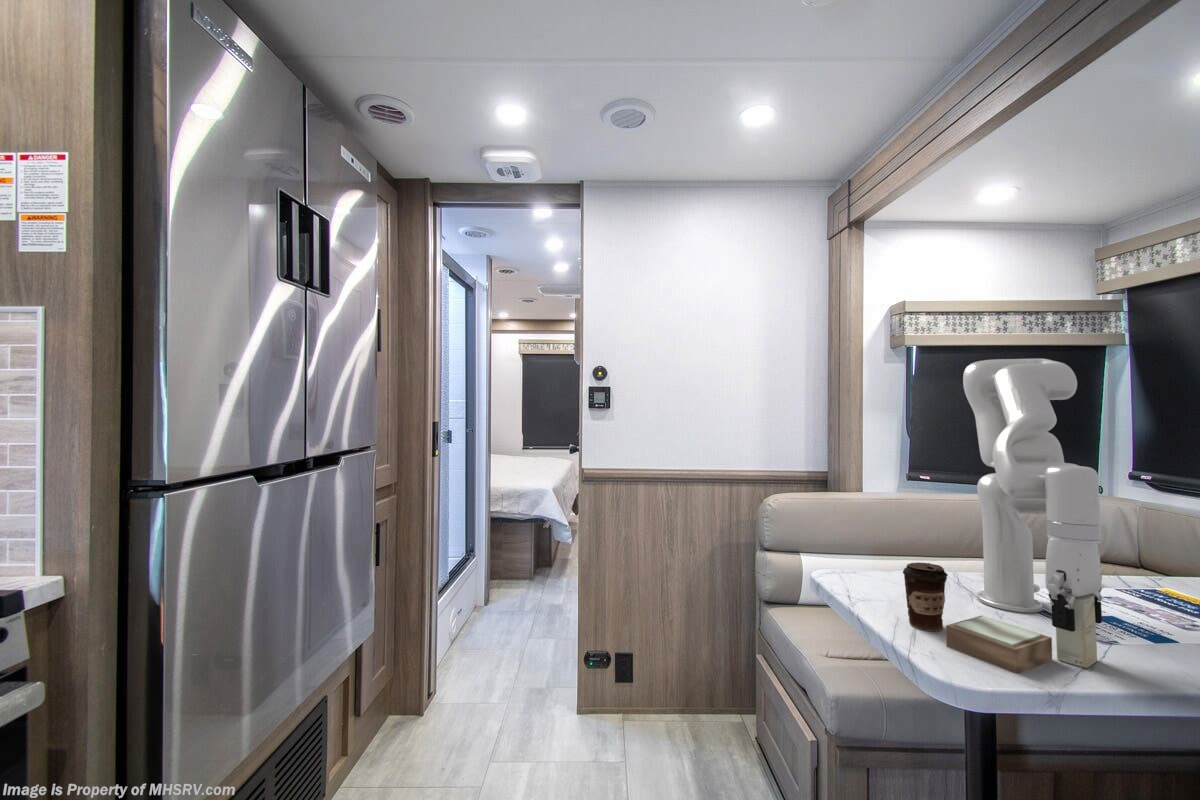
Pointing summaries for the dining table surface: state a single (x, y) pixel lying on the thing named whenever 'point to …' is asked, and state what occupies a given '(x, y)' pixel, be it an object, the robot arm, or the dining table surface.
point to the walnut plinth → (999, 643)
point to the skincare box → (1079, 635)
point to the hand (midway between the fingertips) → (1077, 624)
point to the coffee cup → (925, 595)
